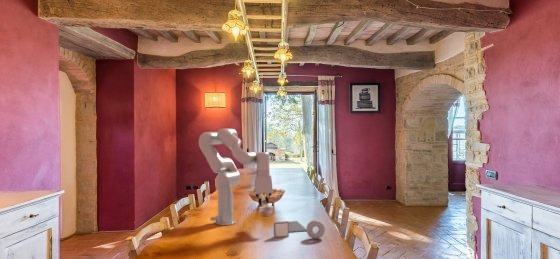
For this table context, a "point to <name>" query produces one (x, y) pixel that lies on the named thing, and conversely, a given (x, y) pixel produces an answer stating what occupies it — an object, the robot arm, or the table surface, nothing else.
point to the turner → (265, 207)
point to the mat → (296, 227)
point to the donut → (320, 232)
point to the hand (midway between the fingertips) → (263, 204)
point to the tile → (281, 229)
